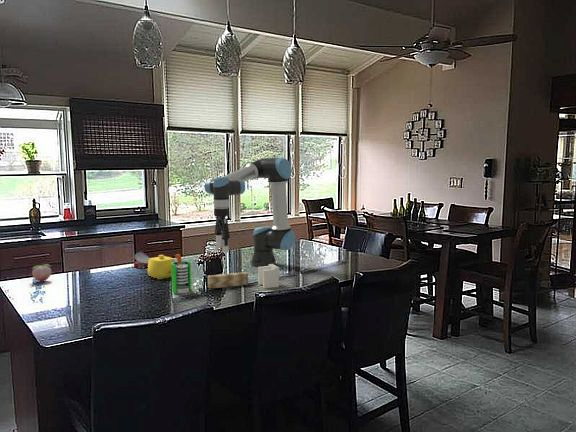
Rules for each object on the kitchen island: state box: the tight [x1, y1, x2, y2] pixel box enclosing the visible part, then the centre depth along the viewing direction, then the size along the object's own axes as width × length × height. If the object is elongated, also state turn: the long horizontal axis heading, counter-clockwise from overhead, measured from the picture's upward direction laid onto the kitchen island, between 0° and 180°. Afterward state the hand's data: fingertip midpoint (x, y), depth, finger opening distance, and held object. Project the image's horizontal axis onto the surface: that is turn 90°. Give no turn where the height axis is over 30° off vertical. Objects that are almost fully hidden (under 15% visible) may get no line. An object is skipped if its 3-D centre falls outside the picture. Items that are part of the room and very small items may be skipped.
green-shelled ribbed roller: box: [171, 253, 192, 294], centre depth 232 cm, size 9×8×18 cm
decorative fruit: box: [31, 263, 52, 282], centre depth 253 cm, size 9×8×10 cm
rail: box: [207, 271, 249, 289], centre depth 243 cm, size 20×4×6 cm, turn 112°
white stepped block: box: [257, 264, 280, 289], centre depth 242 cm, size 9×8×10 cm
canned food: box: [133, 251, 150, 269], centre depth 288 cm, size 11×10×10 cm
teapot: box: [147, 254, 176, 280], centre depth 263 cm, size 20×12×12 cm, turn 46°
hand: (222, 250), depth 240 cm, fingers open, 13 cm apart
